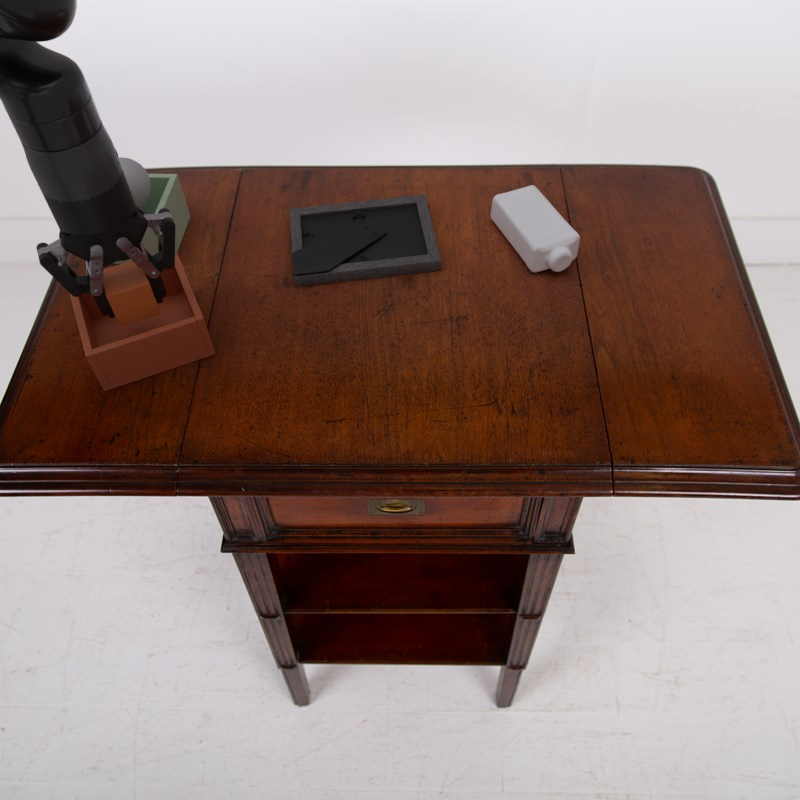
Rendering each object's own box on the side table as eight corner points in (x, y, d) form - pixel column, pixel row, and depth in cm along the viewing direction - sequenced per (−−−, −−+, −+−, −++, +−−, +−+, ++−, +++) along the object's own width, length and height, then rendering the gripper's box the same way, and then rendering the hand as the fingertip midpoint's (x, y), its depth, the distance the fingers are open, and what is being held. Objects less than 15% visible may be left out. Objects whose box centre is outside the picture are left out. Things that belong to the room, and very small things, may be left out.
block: (120, 327, 82) (106, 296, 78) (112, 300, 84) (98, 270, 81) (161, 313, 83) (149, 283, 79) (152, 288, 85) (140, 257, 82)
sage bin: (172, 265, 95) (157, 221, 90) (98, 263, 96) (79, 220, 91) (190, 217, 101) (177, 173, 96) (120, 215, 102) (103, 172, 97)
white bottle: (536, 284, 91) (540, 257, 88) (489, 221, 99) (491, 194, 95) (583, 269, 93) (589, 242, 89) (533, 209, 100) (537, 182, 97)
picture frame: (295, 286, 92) (441, 270, 93) (293, 274, 91) (441, 257, 92) (291, 218, 101) (425, 204, 102) (288, 206, 99) (425, 191, 100)
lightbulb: (141, 257, 95) (112, 183, 87) (110, 239, 98) (79, 165, 89) (177, 231, 98) (153, 158, 90) (146, 214, 101) (119, 141, 92)
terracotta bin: (104, 391, 83) (85, 356, 78) (86, 323, 90) (67, 287, 85) (215, 354, 86) (203, 318, 81) (190, 290, 92) (177, 253, 88)
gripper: (4, 218, 66) (76, 349, 80) (164, 174, 70) (208, 307, 83) (-5, 172, 71) (65, 304, 84) (147, 133, 74) (190, 265, 87)
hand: (136, 305), depth 83 cm, fingers closed on block, 4 cm apart
